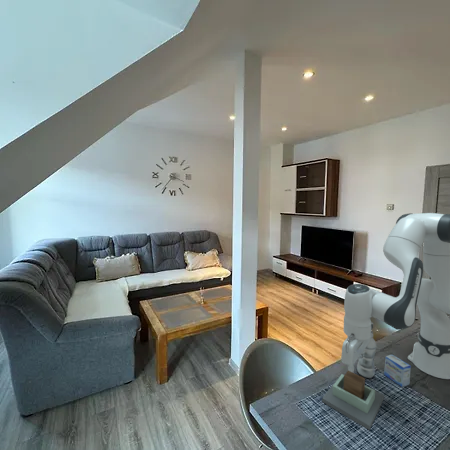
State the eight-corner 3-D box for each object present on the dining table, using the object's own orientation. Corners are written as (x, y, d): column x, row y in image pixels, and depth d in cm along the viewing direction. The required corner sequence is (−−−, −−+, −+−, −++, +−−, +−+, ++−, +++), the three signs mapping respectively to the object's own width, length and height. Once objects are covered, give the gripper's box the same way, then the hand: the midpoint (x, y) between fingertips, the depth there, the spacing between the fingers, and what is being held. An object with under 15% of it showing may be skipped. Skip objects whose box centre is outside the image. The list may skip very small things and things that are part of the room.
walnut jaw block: (347, 389, 96) (348, 370, 96) (363, 398, 92) (365, 378, 91) (343, 395, 94) (344, 375, 93) (360, 404, 89) (361, 384, 88)
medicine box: (383, 374, 106) (384, 356, 105) (390, 372, 108) (392, 353, 107) (402, 387, 99) (403, 367, 98) (409, 384, 100) (411, 365, 99)
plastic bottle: (358, 367, 111) (360, 325, 109) (375, 374, 107) (378, 330, 104) (355, 375, 106) (357, 331, 104) (373, 382, 102) (375, 337, 99)
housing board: (340, 377, 105) (341, 366, 104) (384, 398, 94) (384, 386, 93) (322, 401, 93) (322, 389, 92) (369, 430, 81) (370, 416, 81)
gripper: (356, 344, 80) (355, 383, 82) (374, 321, 95) (373, 355, 96) (336, 337, 85) (336, 374, 86) (357, 316, 99) (356, 348, 101)
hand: (355, 364), depth 91 cm, fingers open, 8 cm apart
